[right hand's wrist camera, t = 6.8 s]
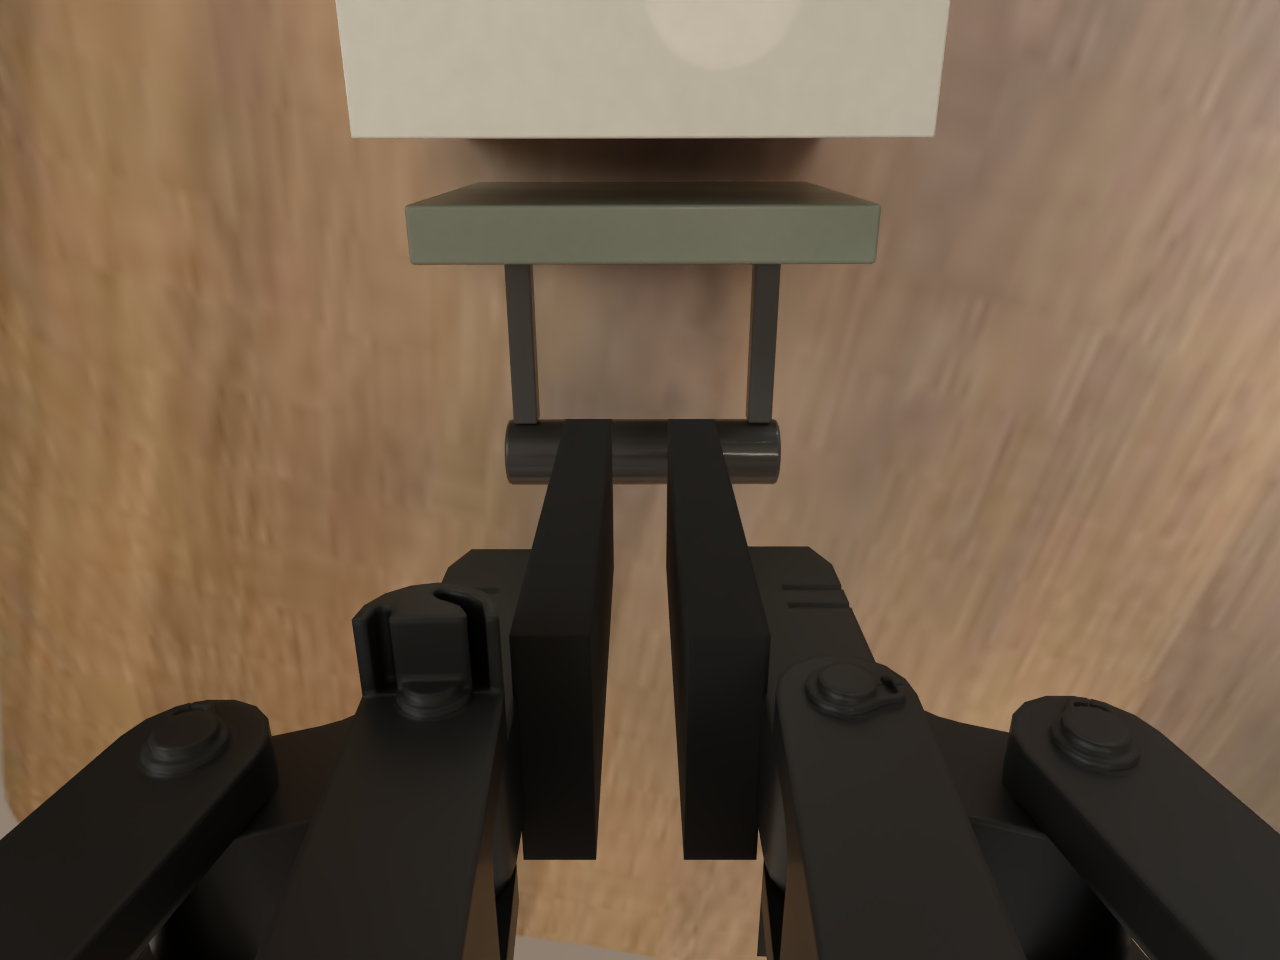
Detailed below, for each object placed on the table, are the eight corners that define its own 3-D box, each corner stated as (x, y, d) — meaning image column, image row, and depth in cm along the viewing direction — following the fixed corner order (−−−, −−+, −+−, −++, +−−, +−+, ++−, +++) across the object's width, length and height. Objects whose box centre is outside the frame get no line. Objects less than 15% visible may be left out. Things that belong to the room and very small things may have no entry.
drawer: (792, 413, 28) (851, 522, 20) (492, 414, 28) (435, 522, 20) (856, -541, 20) (1000, -989, 12) (426, -541, 20) (284, -988, 12)
